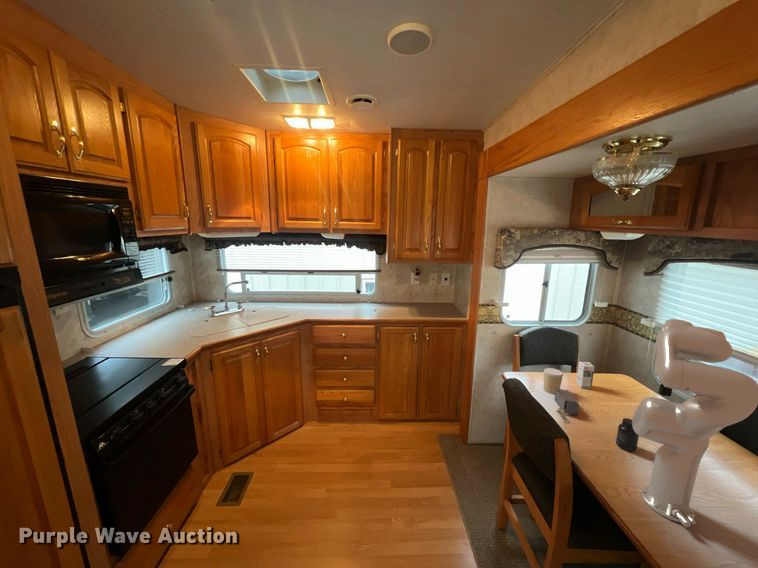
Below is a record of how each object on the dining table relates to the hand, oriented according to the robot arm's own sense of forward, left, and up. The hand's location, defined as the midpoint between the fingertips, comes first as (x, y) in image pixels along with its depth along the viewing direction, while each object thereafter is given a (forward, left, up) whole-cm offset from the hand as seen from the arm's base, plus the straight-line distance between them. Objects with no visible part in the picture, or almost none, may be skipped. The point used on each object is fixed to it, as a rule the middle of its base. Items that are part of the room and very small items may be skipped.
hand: (664, 394), depth 113 cm
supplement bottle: (+3, +8, -27) cm, 29 cm away
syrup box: (+54, +1, -27) cm, 61 cm away
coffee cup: (+45, +22, -27) cm, 57 cm away
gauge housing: (+25, +23, -27) cm, 43 cm away
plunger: (+27, +23, -26) cm, 44 cm away
